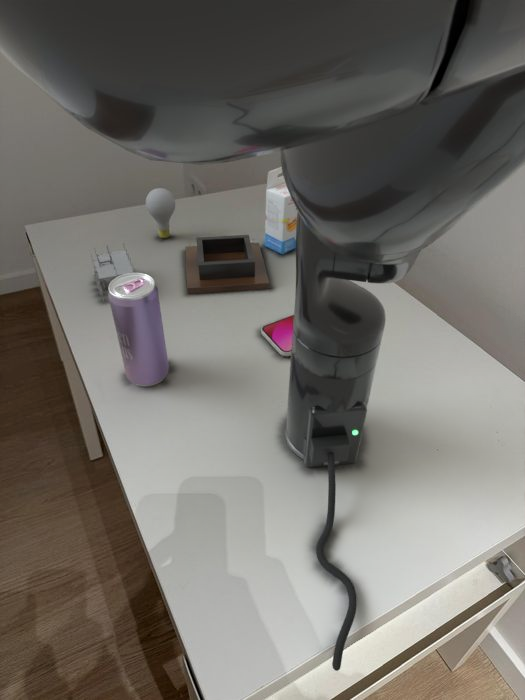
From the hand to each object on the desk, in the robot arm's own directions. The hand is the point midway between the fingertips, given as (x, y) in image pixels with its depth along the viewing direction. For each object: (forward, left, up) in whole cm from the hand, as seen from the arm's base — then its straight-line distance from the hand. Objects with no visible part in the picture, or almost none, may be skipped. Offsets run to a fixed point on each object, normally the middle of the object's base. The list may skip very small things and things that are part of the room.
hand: (244, 50), depth 50 cm
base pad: (+24, +1, -40) cm, 46 cm away
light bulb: (+37, +12, -40) cm, 56 cm away
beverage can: (-2, +14, -40) cm, 42 cm away
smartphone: (+5, -11, -40) cm, 41 cm away
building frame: (+21, +20, -40) cm, 49 cm away
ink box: (+32, -12, -40) cm, 52 cm away
